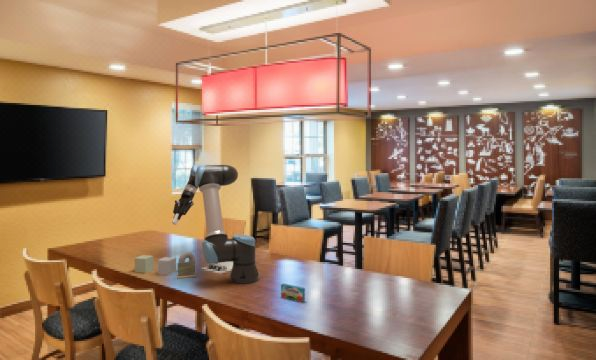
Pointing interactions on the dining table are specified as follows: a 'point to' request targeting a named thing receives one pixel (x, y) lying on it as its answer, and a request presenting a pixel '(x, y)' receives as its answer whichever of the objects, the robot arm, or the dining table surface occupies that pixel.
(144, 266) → the sage block
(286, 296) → the flat green printed box
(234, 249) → the robot arm
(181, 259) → the donut
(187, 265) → the card
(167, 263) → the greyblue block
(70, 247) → the dining table surface
